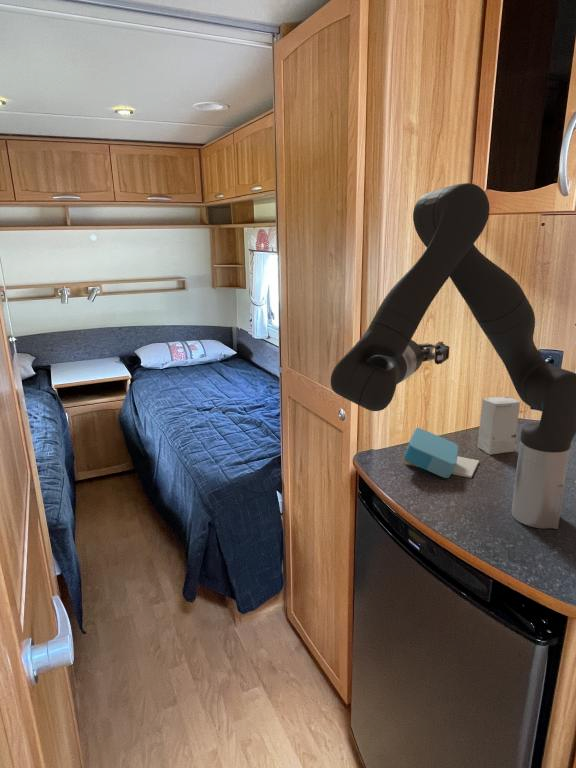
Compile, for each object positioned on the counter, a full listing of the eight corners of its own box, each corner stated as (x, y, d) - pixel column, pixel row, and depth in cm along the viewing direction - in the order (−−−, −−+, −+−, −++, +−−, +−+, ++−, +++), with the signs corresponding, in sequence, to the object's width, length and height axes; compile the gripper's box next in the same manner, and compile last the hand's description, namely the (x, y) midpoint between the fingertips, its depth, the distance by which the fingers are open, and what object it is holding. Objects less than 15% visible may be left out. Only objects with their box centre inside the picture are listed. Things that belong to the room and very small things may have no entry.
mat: (478, 462, 133) (479, 460, 133) (471, 478, 125) (471, 475, 125) (426, 452, 140) (426, 450, 140) (415, 466, 132) (416, 464, 131)
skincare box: (489, 455, 137) (494, 404, 133) (476, 446, 143) (480, 397, 138) (515, 451, 139) (521, 401, 135) (501, 443, 145) (506, 394, 140)
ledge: (426, 452, 140) (427, 440, 139) (415, 466, 132) (416, 453, 131) (416, 450, 141) (416, 438, 140) (404, 463, 133) (405, 451, 132)
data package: (448, 480, 123) (452, 458, 134) (456, 466, 121) (459, 444, 132) (402, 459, 126) (410, 439, 136) (409, 445, 124) (416, 426, 134)
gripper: (435, 345, 90) (456, 329, 103) (362, 338, 97) (390, 325, 110) (432, 384, 92) (453, 364, 106) (361, 375, 99) (389, 357, 113)
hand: (421, 344), depth 108 cm, fingers open, 8 cm apart
